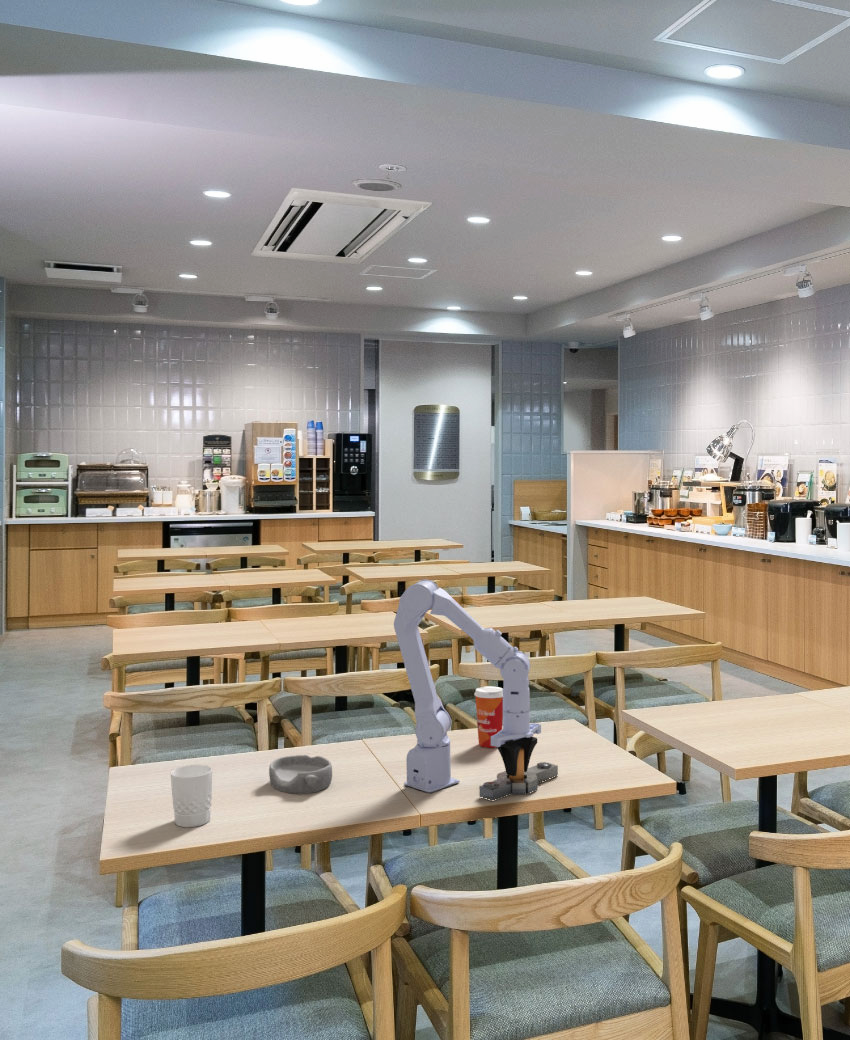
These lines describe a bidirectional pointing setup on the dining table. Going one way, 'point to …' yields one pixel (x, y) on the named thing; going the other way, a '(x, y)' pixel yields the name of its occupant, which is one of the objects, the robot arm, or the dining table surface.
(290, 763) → the dish
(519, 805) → the dining table surface
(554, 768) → the right chain end
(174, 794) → the white cup
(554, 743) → the dining table surface
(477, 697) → the paper cup
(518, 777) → the orange pin
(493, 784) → the left chain end
